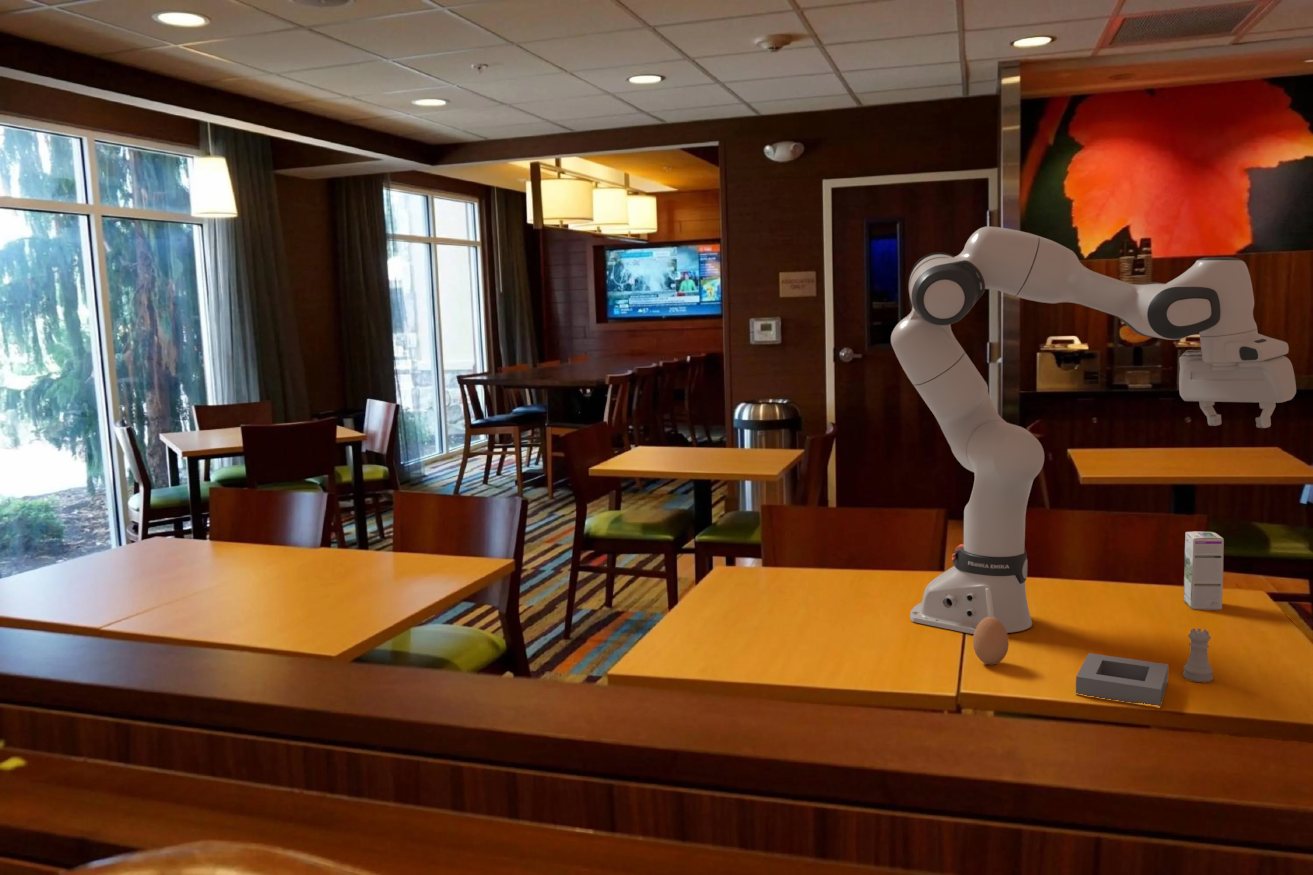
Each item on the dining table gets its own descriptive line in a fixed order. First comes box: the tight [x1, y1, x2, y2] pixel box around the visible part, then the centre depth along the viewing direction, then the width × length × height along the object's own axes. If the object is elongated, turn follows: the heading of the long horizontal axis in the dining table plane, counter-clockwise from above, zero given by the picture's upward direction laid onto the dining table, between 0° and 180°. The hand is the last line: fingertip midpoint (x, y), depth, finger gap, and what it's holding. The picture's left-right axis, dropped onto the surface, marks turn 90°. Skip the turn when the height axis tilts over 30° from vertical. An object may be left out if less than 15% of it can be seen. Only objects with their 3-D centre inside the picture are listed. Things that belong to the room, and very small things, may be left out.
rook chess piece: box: [1182, 627, 1214, 683], centre depth 168 cm, size 4×4×8 cm
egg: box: [972, 617, 1009, 666], centre depth 177 cm, size 6×6×8 cm
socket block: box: [1075, 652, 1169, 707], centre depth 165 cm, size 12×12×3 cm
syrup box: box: [1183, 530, 1225, 611], centre depth 205 cm, size 6×6×14 cm
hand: (1238, 426), depth 182 cm, fingers open, 8 cm apart
